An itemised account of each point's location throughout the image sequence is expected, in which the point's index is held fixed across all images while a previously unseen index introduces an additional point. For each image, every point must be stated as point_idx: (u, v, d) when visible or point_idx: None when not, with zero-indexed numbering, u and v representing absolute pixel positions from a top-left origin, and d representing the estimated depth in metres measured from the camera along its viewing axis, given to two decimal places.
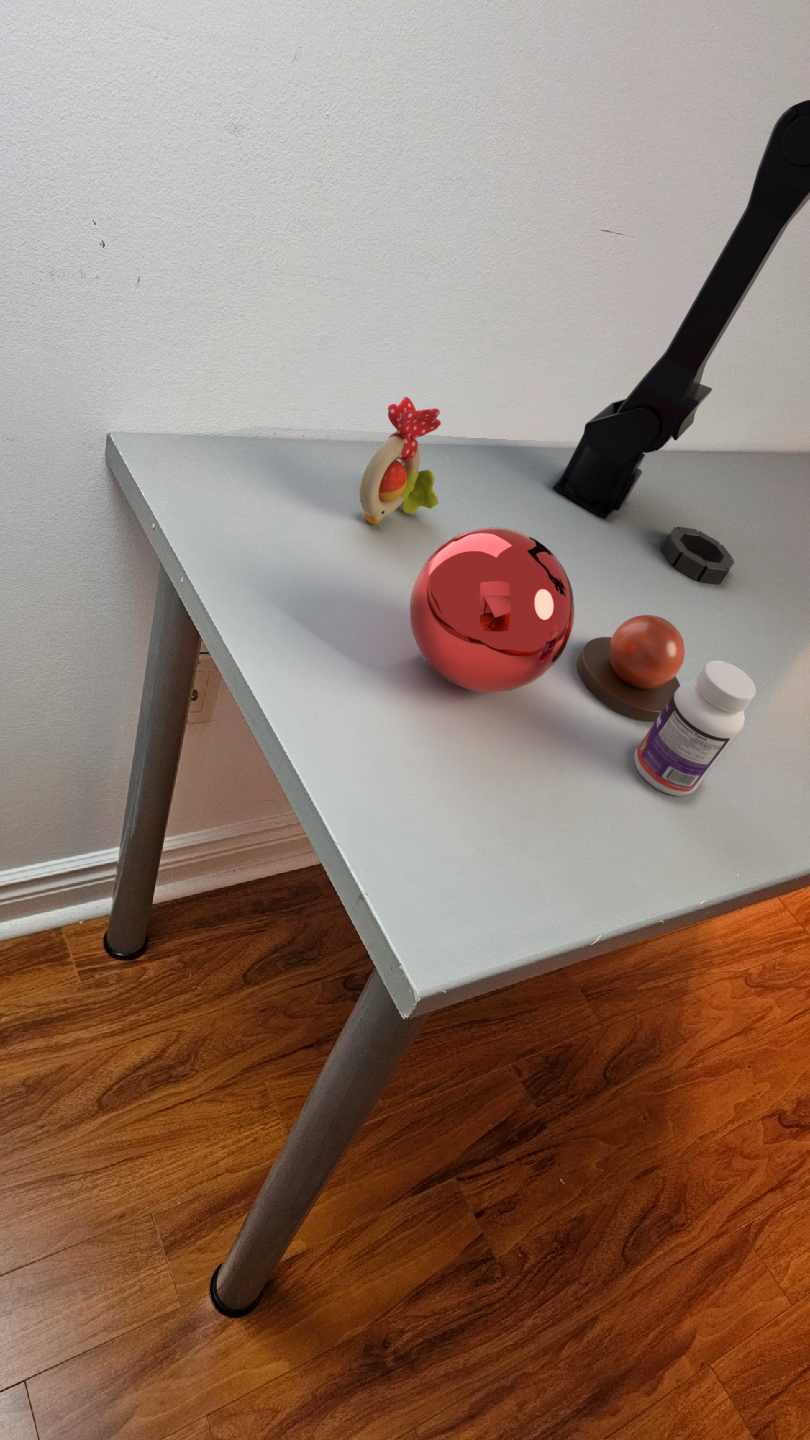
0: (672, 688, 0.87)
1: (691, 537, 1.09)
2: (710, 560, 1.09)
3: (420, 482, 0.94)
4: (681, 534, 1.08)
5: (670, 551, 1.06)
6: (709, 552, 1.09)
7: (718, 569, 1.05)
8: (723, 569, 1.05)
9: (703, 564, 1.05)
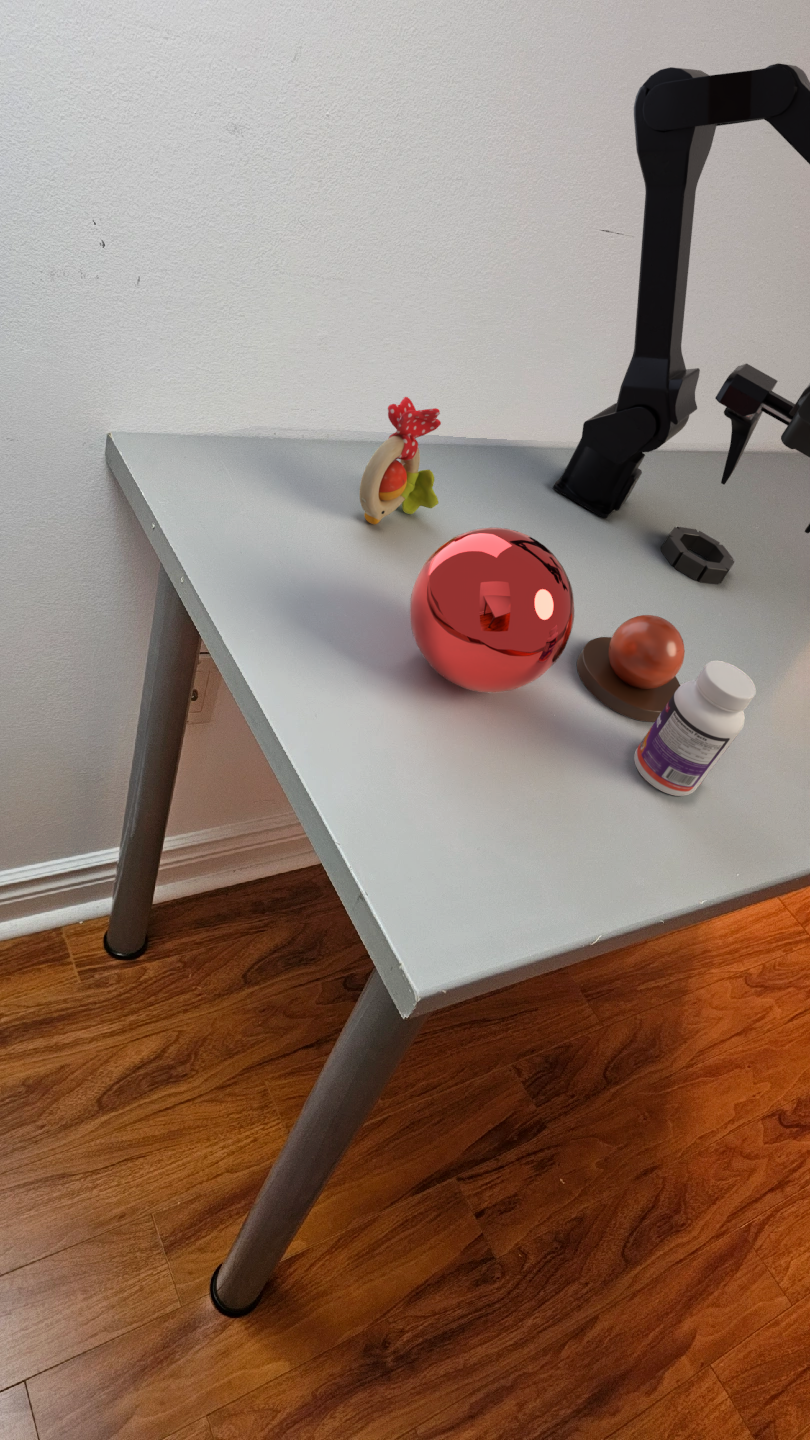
0: (672, 688, 0.87)
1: (691, 537, 1.09)
2: (710, 560, 1.09)
3: (420, 482, 0.94)
4: (681, 534, 1.08)
5: (670, 551, 1.06)
6: (709, 552, 1.09)
7: (718, 569, 1.05)
8: (723, 569, 1.05)
9: (703, 564, 1.05)
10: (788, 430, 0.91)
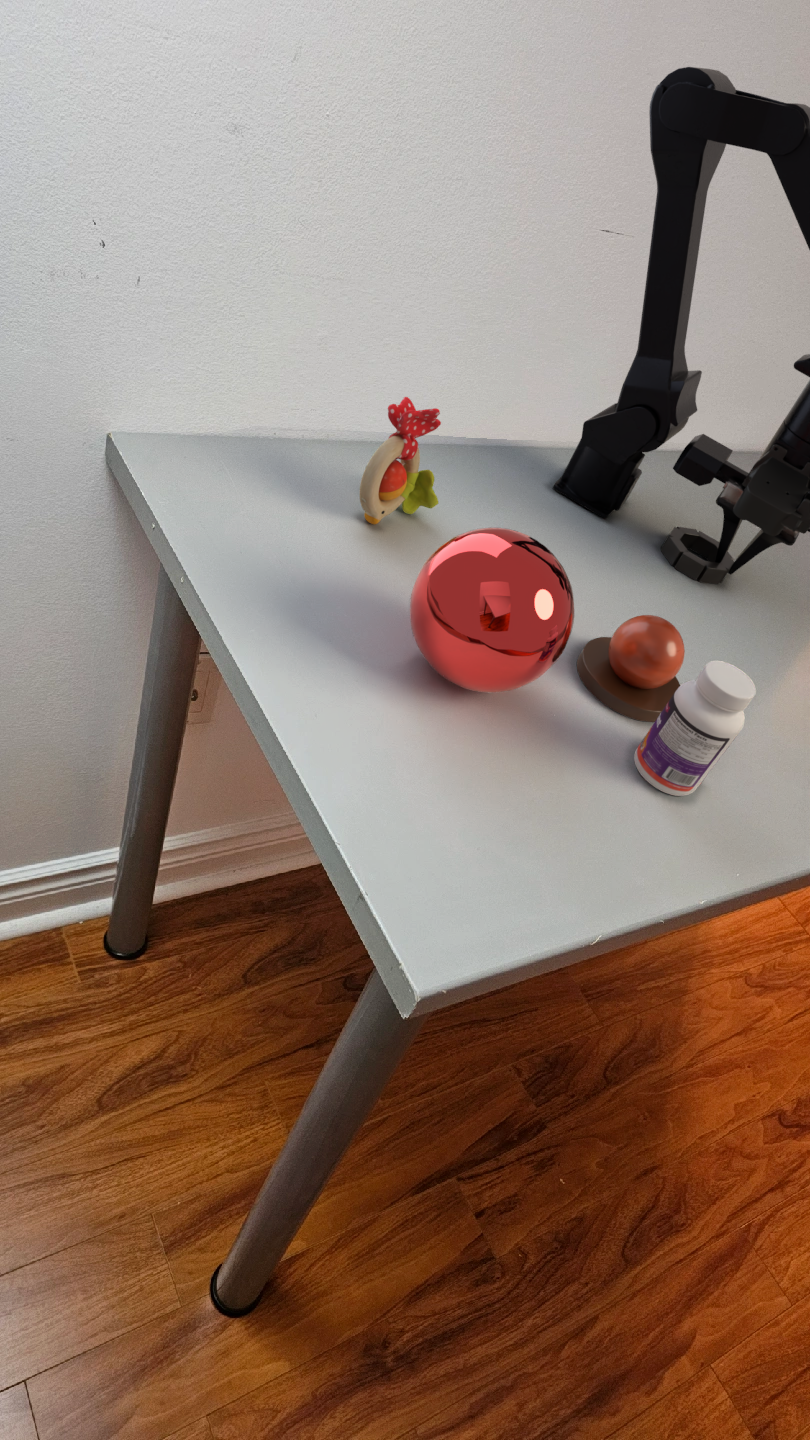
0: (672, 688, 0.87)
1: (691, 537, 1.09)
2: (710, 560, 1.09)
3: (420, 482, 0.94)
4: (681, 534, 1.08)
5: (670, 551, 1.06)
6: (709, 552, 1.09)
7: (718, 569, 1.05)
8: (723, 569, 1.05)
9: (703, 564, 1.05)
10: (739, 503, 0.96)
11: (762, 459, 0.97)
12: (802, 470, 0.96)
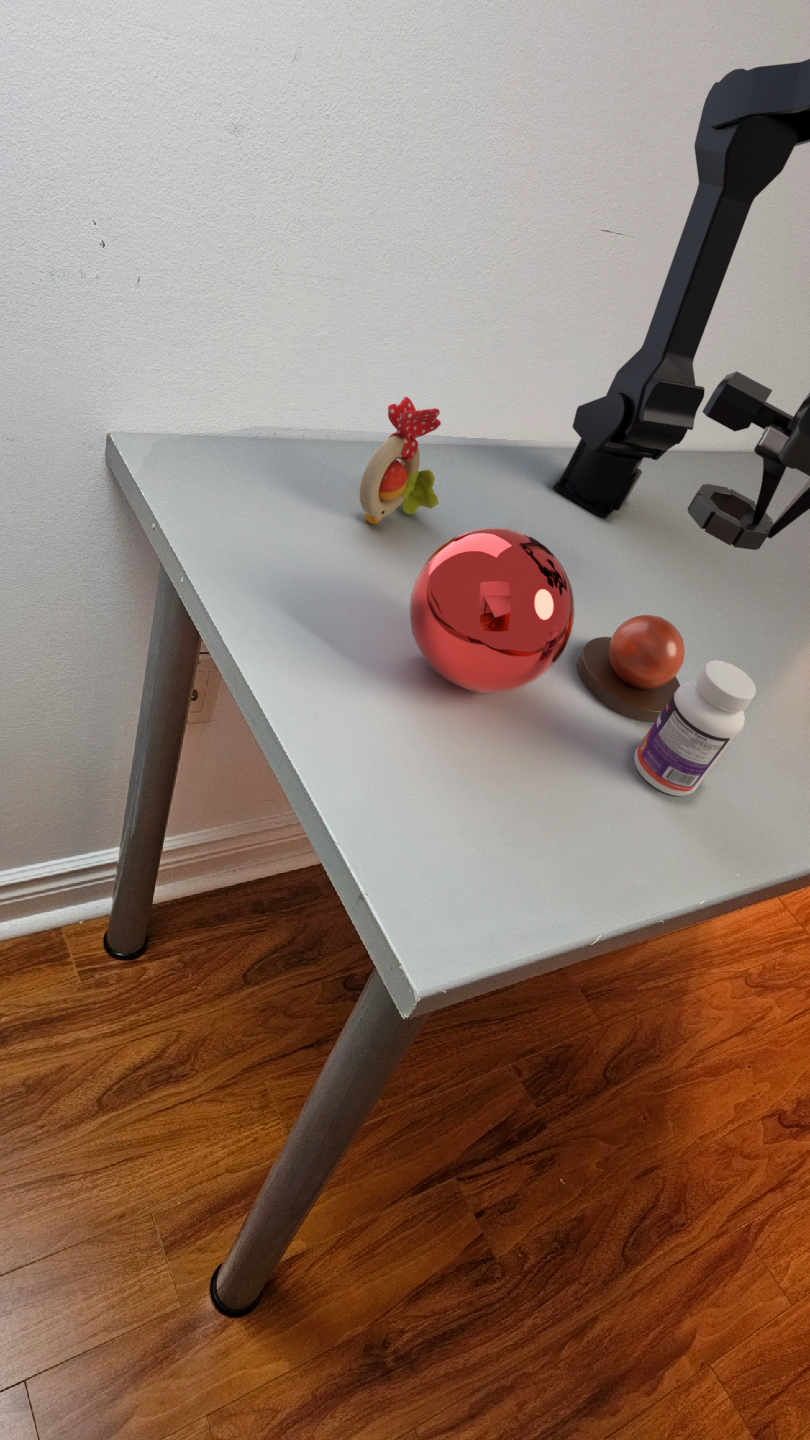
0: (672, 688, 0.87)
1: (722, 496, 0.93)
2: (744, 523, 0.93)
3: (420, 482, 0.94)
4: (711, 492, 0.92)
5: (699, 512, 0.90)
6: (744, 513, 0.93)
7: (757, 531, 0.89)
8: (763, 531, 0.89)
9: (739, 526, 0.88)
10: (787, 447, 0.80)
11: None
12: None
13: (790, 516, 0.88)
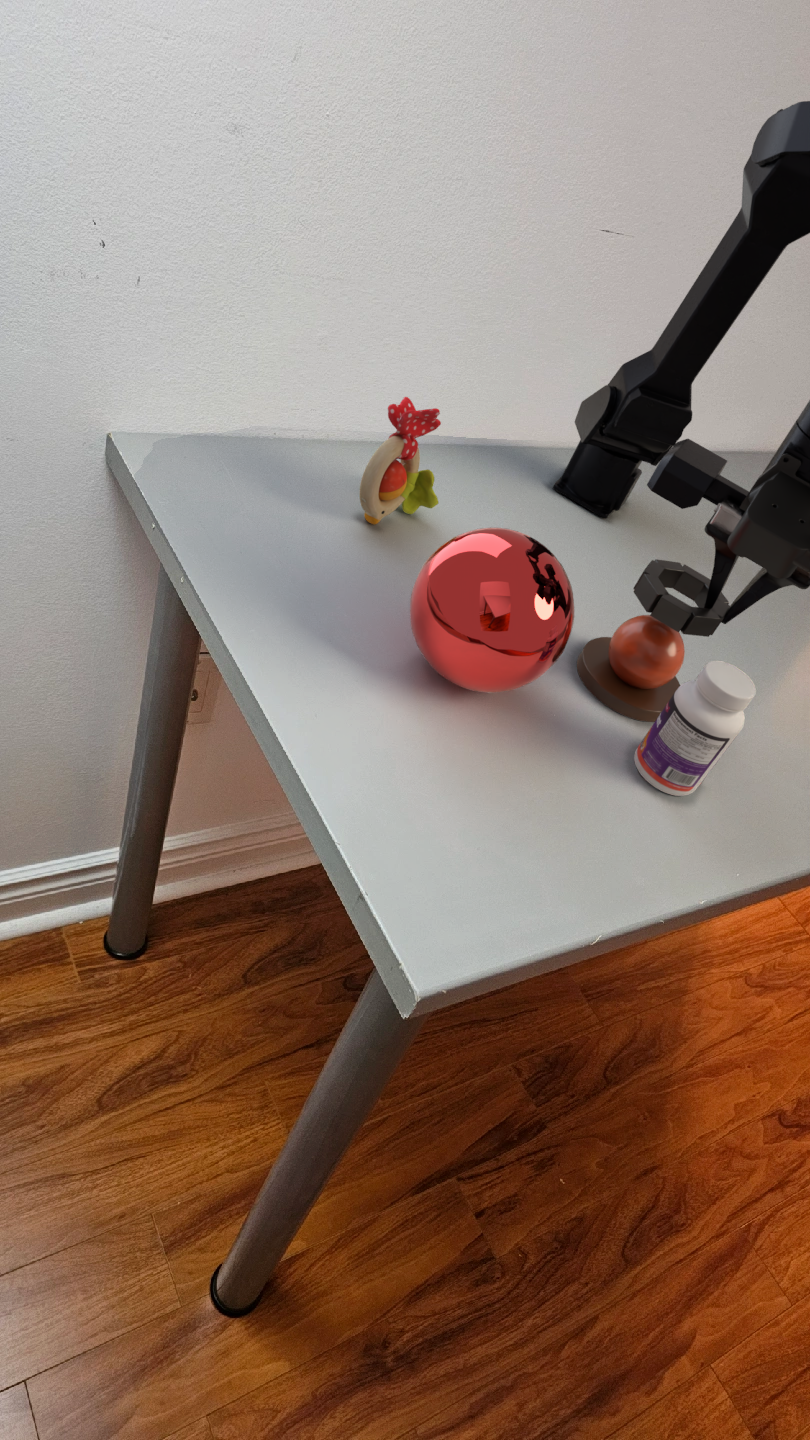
0: (672, 688, 0.87)
1: (673, 573, 0.83)
2: (698, 603, 0.84)
3: (420, 482, 0.94)
4: (660, 570, 0.82)
5: (645, 593, 0.80)
6: (698, 593, 0.84)
7: (708, 618, 0.79)
8: (716, 617, 0.80)
9: (688, 611, 0.79)
10: (736, 534, 0.70)
11: (767, 474, 0.72)
12: None
13: (746, 601, 0.79)
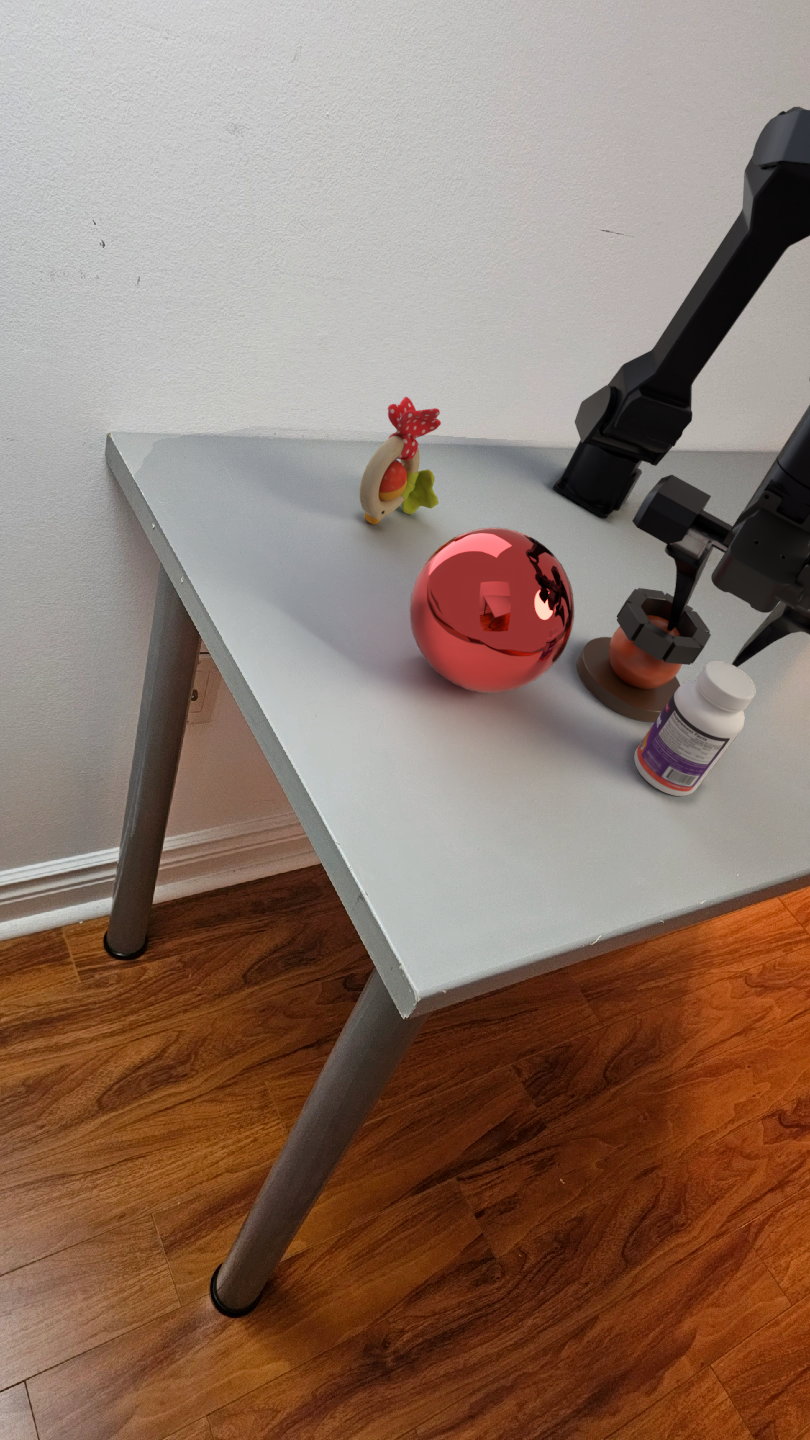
0: (672, 688, 0.87)
1: (655, 601, 0.85)
2: (680, 631, 0.85)
3: (420, 482, 0.94)
4: (643, 599, 0.84)
5: (628, 622, 0.82)
6: (680, 621, 0.85)
7: (689, 647, 0.81)
8: (696, 646, 0.81)
9: (670, 640, 0.80)
10: (719, 570, 0.72)
11: (749, 510, 0.73)
12: (802, 524, 0.72)
13: (756, 647, 0.80)
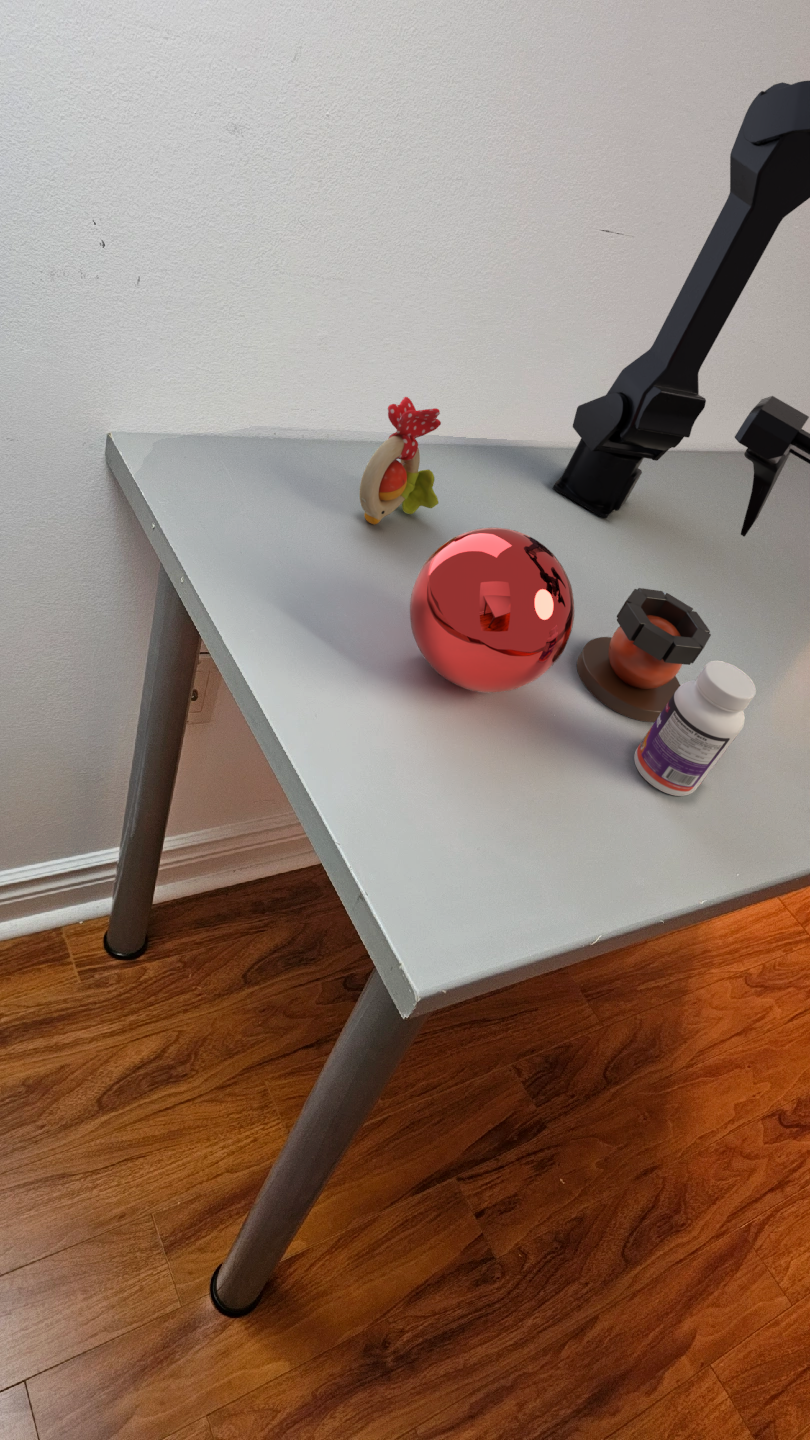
0: (672, 688, 0.87)
1: (655, 601, 0.85)
2: (680, 631, 0.85)
3: (420, 482, 0.94)
4: (643, 599, 0.84)
5: (628, 622, 0.82)
6: (680, 621, 0.85)
7: (689, 647, 0.81)
8: (696, 646, 0.81)
9: (670, 640, 0.80)
10: None
11: None
12: None
13: None
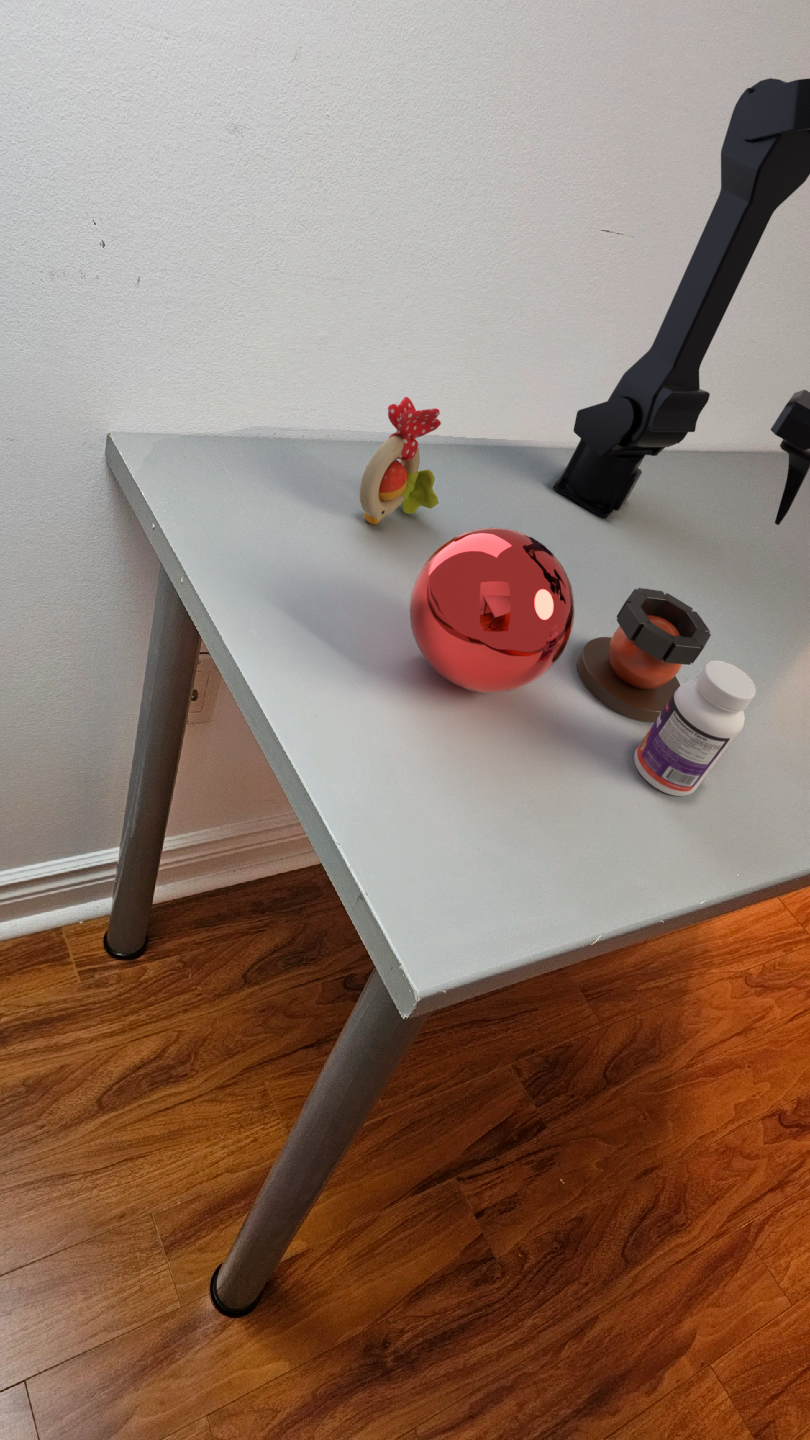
0: (672, 688, 0.87)
1: (655, 601, 0.85)
2: (680, 631, 0.85)
3: (420, 482, 0.94)
4: (643, 599, 0.84)
5: (628, 622, 0.82)
6: (680, 621, 0.85)
7: (689, 647, 0.81)
8: (696, 646, 0.81)
9: (670, 640, 0.80)
10: None
11: None
12: None
13: None
